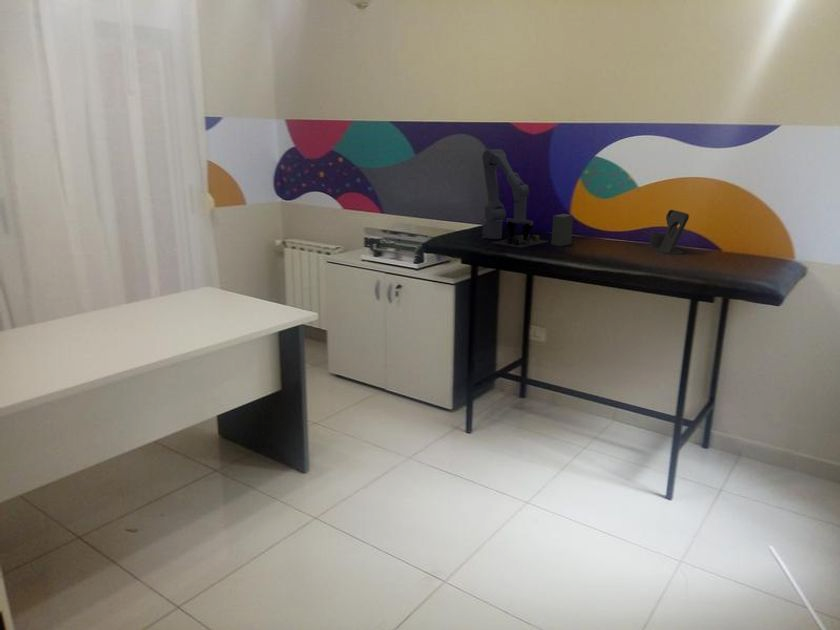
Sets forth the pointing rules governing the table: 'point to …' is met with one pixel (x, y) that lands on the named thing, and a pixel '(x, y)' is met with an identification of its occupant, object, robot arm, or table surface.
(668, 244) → the phone holder
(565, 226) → the skincare box
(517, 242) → the bar
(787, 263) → the table surface
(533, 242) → the mat
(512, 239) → the tongs fixed
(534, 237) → the block
